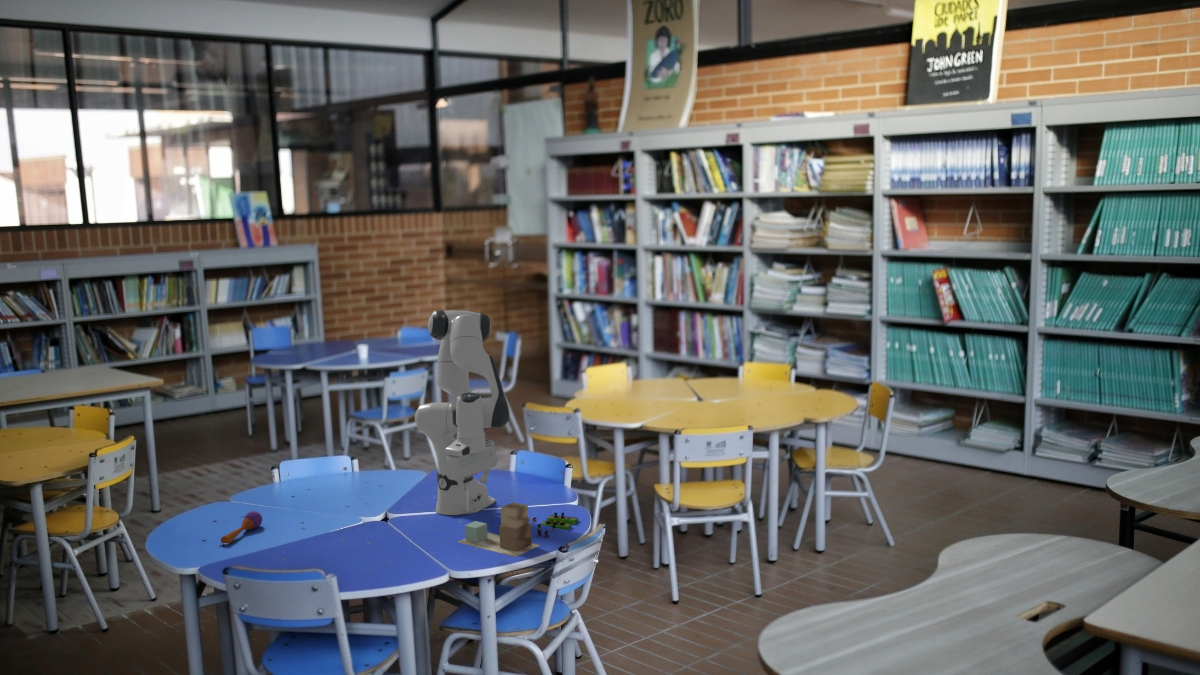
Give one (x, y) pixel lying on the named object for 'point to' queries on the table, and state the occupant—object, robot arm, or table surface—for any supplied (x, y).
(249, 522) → the orange and purple maraca
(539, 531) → the toy garden set
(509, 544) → the walnut base block
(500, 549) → the birch board
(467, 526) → the sage cube
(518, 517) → the oak middle block
